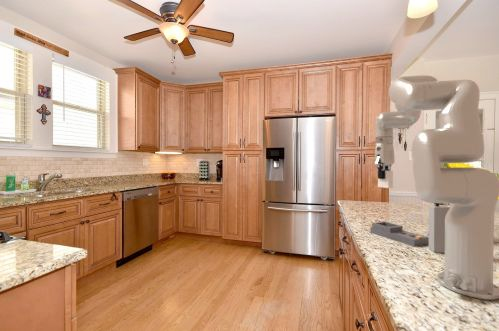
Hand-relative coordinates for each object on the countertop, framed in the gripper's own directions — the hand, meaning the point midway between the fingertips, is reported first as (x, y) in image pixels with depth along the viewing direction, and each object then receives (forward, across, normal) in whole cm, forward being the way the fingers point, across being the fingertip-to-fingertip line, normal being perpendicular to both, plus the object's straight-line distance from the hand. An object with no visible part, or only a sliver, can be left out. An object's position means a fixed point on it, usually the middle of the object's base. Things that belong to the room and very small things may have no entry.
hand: (384, 178), depth 116 cm
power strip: (+26, -8, -10) cm, 28 cm away
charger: (+4, 0, 0) cm, 4 cm away
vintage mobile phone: (+25, -12, -26) cm, 38 cm away
